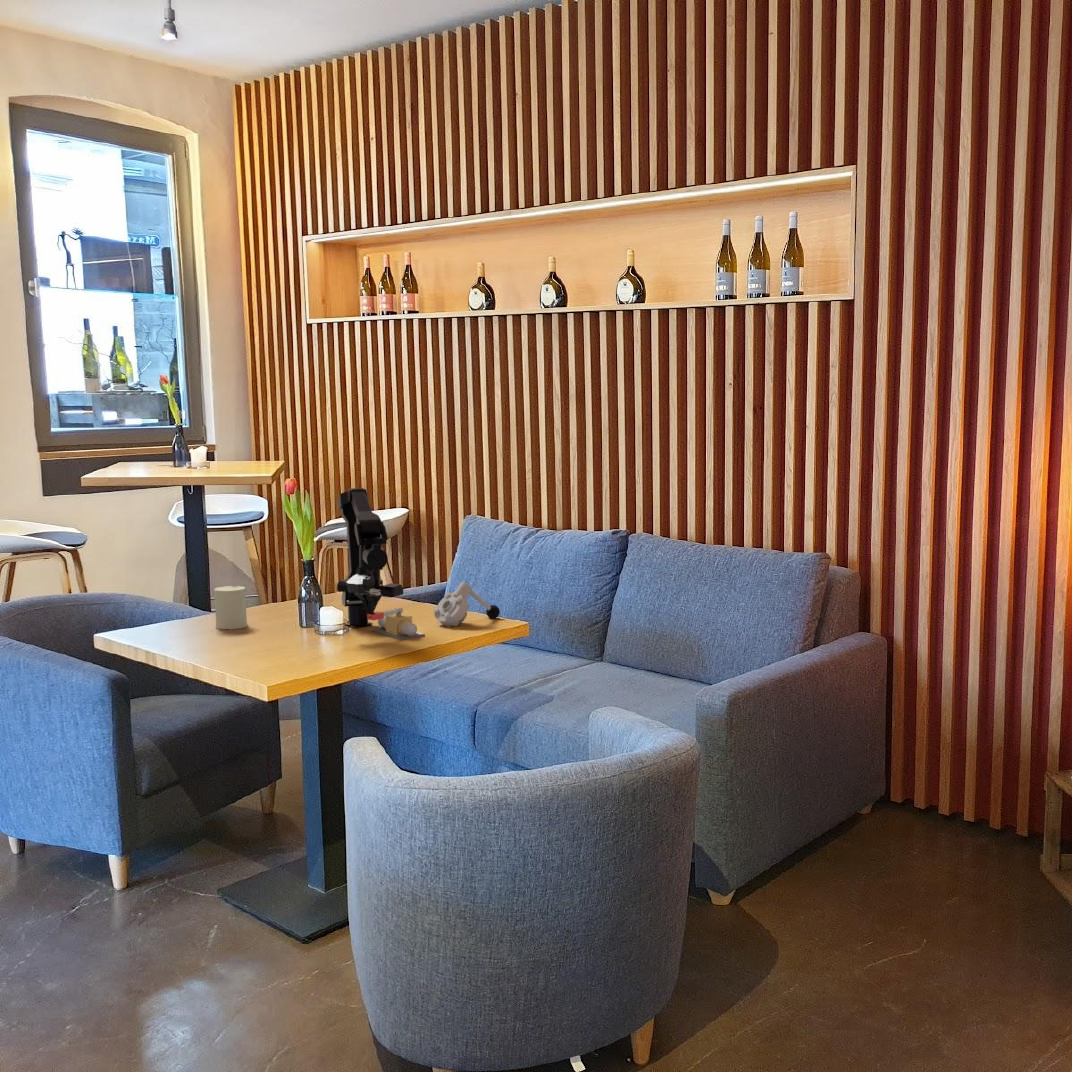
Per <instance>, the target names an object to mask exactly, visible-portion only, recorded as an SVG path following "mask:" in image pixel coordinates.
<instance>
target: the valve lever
mask: <svg viewBox="0 0 1072 1072" xmlns="http://www.w3.org/2000/svg"><path fill="white" fill-rule="evenodd" d="M397 613H404V608H402V607H397V608H393V609H389V610H388V609H387V610H385V611H374V613H369V614H367V619H368V621H378V619H382V618H384V616H389V615H393V614H397Z"/></svg>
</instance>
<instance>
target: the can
mask: <svg viewBox="0 0 1072 1072" xmlns="http://www.w3.org/2000/svg"><path fill="white" fill-rule="evenodd" d="M213 591H214V592H213V593H214V607H215V628H216V629H218V630H225V629H229V630H239V629H243V628H247V627H248V619H247V618H248V617H247V597H246V596H247V595H246V594H247V593H246V587H245V586H242V585H227V586H224V585H223V586H219V587H215V588H214V589H213Z"/></svg>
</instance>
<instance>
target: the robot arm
mask: <svg viewBox="0 0 1072 1072" xmlns="http://www.w3.org/2000/svg"><path fill="white" fill-rule="evenodd" d="M369 501H370V500H369V493H368V491H367V489H366V488H363V487H353V488H351V487H350V488H349V489H347V491H344V492H341V493H339V495H338V496H337V508H338V510H339V513H340V516H341V517H342V519H343V521H344V522H345V524H346V536H347V537H346V538H347V539H346V540H347V551H348V552H347V553H348V569H349V570H348V571H349V572H348V574H347V576H346V578H344V579H341V580H338V582H337V584H336V591H337V592H342V593H341V594H342V595H341V603H342V606H344V607H346V608H347V618H348V619H347V620H349V622H350V626H349V627H351V628H359V627H365V626H371V625H373V623H372V622H370V621H369V620H368V619H367V614H369V613H374V612H375V610H376V608H377V606H378V604H379V602H380V600H381V599H382V597H384V598H396V597H399V596H402V595H404V587H403V586H402V584H399V583H388V584H384V585H383V583H384V580H381V571H382V570H383V569H384V568H385V567H386V565H387V564H388V562H389V561H388V559H389V557H388V554H387V553H386V551H384V549H383V548H382V545H387V544H388V542H387V541H388V533H387V528H386V526H385V524H384V522H383V521H382V520H381V518H380V516H379V515H378V514H376V513H375V512H373V511H372V507H371V505H370V502H369Z"/></svg>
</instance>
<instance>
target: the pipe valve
mask: <svg viewBox="0 0 1072 1072" xmlns="http://www.w3.org/2000/svg"><path fill="white" fill-rule="evenodd" d="M377 625H378V626H379V627H375V628H374V627H373V628H370V631H371V632H374V633H377V634H381V635H383V636H386V637H389V638H392V639H396V640H399V641H403V640H409V639H410V640H411V639H416V638H422V637H426V634H425V633H422V632H418V628H417V625H416V624H415V623H413V616H412V615H410V614H407V613H404V612H402V613H397V614H393V615H389V616H384V618H382V619H378V620H377Z"/></svg>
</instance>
